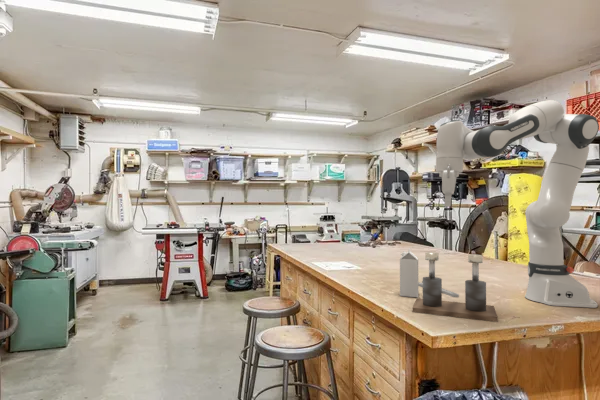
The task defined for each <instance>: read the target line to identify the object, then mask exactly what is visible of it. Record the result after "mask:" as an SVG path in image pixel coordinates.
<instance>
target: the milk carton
mask: <svg viewBox="0 0 600 400" xmlns="http://www.w3.org/2000/svg"><path fill="white" fill-rule="evenodd" d="M410 249H411V248H410V247H409V248H408V250H407V252H406V251H403V252H401V253H400V259H399V296H400V297H409V298H419V291H420V290H419V286H418V282H419V257H418V256H416V255H417V254H414V252H412V251H411V250H410Z"/></svg>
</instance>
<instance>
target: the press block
mask: <svg viewBox="0 0 600 400" xmlns="http://www.w3.org/2000/svg"><path fill="white" fill-rule="evenodd" d="M422 281H423V287H422V298H419V297H416V299H415V301H414V304H413V305H412V309H411V310H412V313H419V314H425V315H436V316H446V317H453V318H454V317H455V318H461V319H462V318H463V319H471V320H479V321H486V322H495V323H496V322H499V320H498V319H499V318H498V314H497V311H496V309H495V305H489V304H487V282H485V281H483V280H479V281H478V282H476V281H472V279H467V280H465V281H464V285H465V286H464V289H465V290H464V291H465V293H464V296H465V301H464V302H458V301H448V300H443V293H442V286H443V284H442V281H443V279H442V278H441V277H437V276H435V278H429V276H423V277H422Z"/></svg>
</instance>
